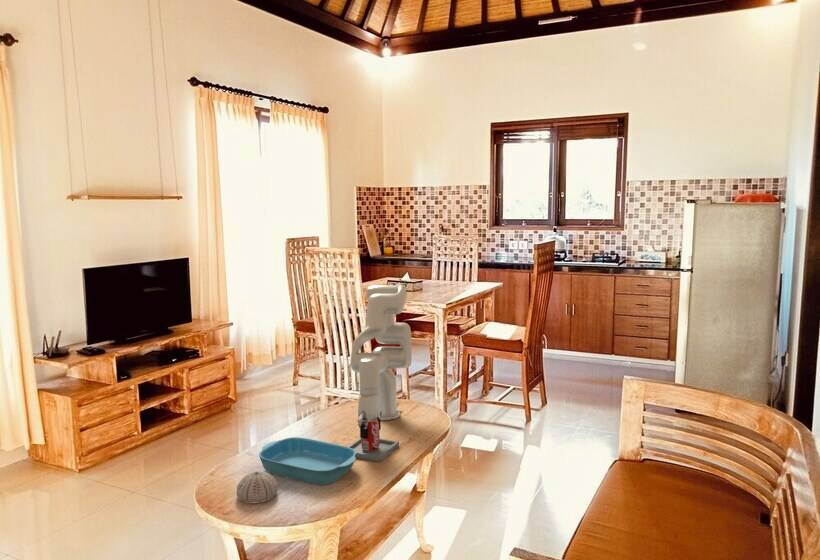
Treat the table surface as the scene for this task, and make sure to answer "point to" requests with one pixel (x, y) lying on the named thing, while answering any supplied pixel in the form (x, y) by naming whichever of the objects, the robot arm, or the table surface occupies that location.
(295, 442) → the casserole dish
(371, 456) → the tray
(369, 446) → the soda can
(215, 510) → the table surface
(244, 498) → the sea urchin shell
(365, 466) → the table surface
